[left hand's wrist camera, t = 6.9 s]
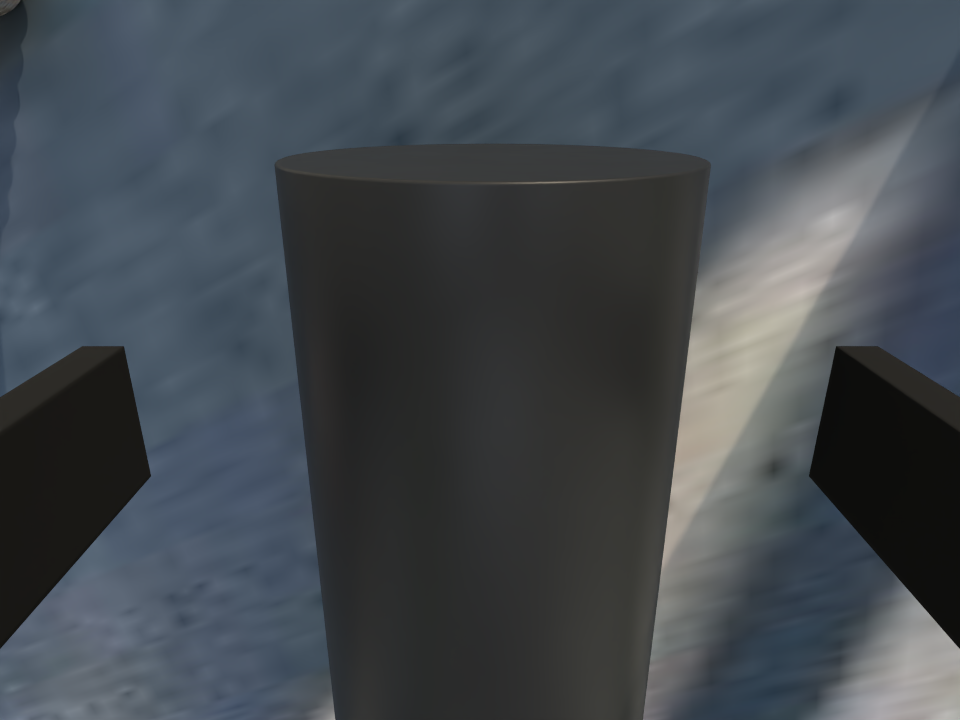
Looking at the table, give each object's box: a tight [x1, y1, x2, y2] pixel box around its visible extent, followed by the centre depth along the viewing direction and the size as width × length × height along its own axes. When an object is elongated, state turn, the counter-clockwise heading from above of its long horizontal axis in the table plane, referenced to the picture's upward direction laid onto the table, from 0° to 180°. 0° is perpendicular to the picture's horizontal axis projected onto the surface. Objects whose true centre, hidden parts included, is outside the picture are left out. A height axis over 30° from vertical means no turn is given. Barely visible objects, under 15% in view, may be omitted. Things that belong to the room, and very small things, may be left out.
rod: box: [275, 144, 711, 720], centre depth 18 cm, size 26×9×9 cm, turn 0°
